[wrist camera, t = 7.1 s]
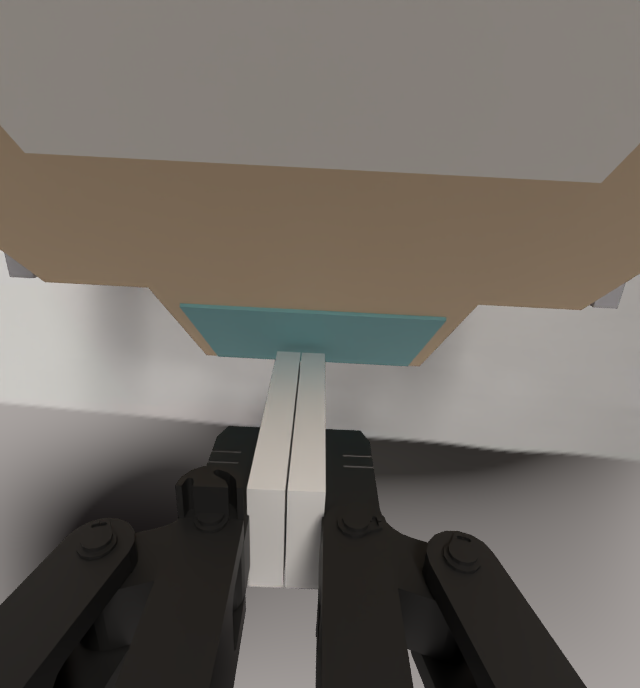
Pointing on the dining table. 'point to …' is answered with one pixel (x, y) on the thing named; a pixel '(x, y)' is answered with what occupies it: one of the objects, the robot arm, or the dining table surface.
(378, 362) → the flap
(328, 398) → the dining table surface
